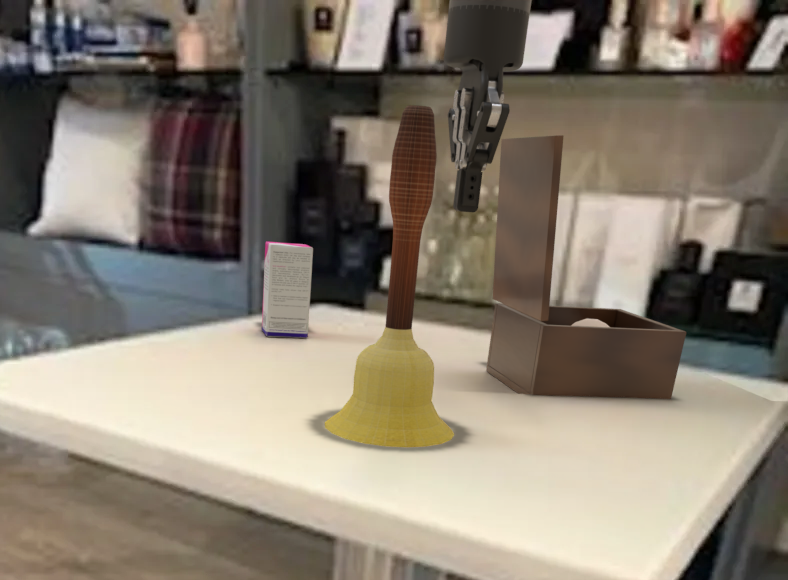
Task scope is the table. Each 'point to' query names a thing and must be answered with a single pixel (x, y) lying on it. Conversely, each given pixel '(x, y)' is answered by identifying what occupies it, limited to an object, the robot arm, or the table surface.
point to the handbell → (399, 313)
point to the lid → (527, 223)
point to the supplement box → (286, 289)
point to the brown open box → (584, 353)
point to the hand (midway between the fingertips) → (465, 211)
